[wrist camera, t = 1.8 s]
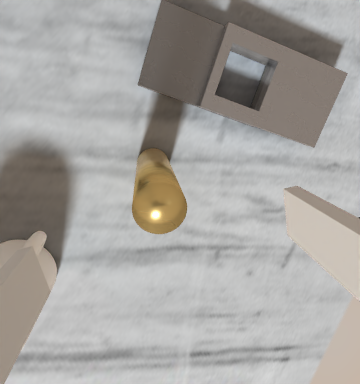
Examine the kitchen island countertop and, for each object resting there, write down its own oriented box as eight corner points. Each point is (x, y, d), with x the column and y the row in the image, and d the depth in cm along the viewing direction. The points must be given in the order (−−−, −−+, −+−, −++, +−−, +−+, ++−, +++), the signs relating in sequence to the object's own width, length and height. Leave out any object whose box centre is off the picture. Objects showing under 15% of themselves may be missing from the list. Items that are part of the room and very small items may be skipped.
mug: (21, 198, 33) (-31, 239, 23) (87, 234, 35) (65, 285, 25) (-27, 278, 35) (-93, 347, 25) (38, 307, 37) (0, 381, 27)
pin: (133, 151, 33) (125, 189, 18) (164, 145, 33) (181, 176, 19) (141, 182, 34) (139, 239, 19) (171, 175, 34) (191, 227, 20)
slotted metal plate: (138, 85, 31) (137, 83, 28) (161, 4, 29) (162, -7, 26) (301, 144, 35) (315, 148, 32) (331, 76, 33) (349, 74, 30)
